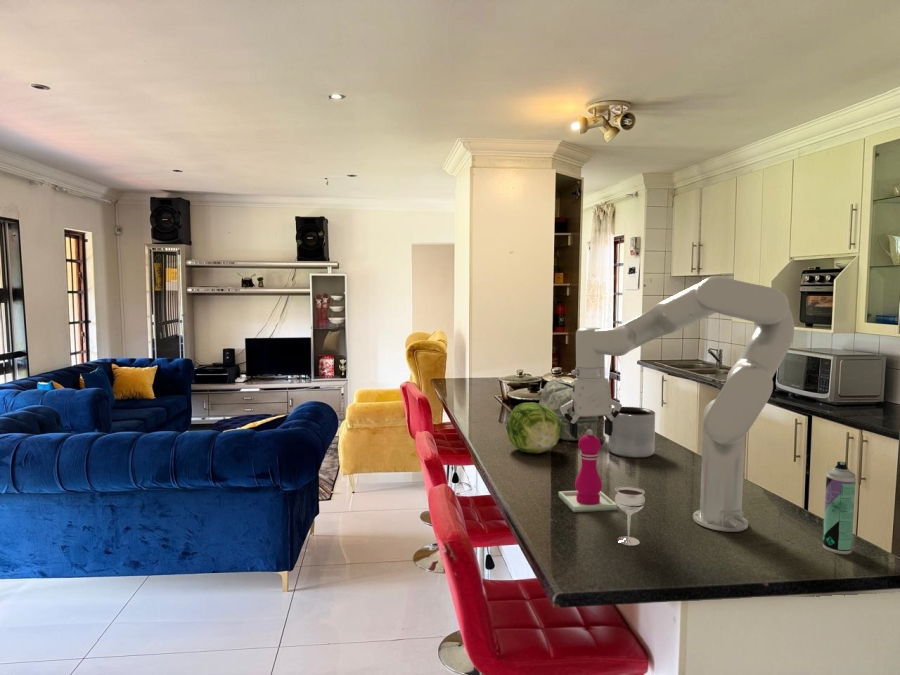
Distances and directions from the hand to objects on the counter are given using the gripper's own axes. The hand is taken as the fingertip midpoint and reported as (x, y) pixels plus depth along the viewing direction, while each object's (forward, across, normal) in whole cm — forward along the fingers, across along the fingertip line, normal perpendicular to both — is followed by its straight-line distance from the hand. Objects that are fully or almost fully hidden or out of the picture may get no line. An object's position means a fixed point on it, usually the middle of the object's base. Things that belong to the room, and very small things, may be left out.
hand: (591, 436), depth 160 cm
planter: (+19, +35, +48) cm, 62 cm away
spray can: (+21, +44, -35) cm, 60 cm away
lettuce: (+18, +1, +53) cm, 56 cm away
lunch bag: (+18, +22, +78) cm, 83 cm away
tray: (+19, -1, +1) cm, 19 cm away
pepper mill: (+18, -1, +1) cm, 18 cm away
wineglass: (+20, -1, -24) cm, 31 cm away
